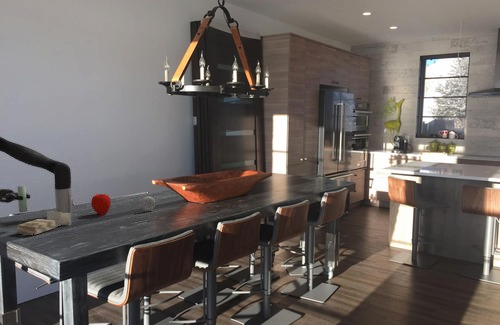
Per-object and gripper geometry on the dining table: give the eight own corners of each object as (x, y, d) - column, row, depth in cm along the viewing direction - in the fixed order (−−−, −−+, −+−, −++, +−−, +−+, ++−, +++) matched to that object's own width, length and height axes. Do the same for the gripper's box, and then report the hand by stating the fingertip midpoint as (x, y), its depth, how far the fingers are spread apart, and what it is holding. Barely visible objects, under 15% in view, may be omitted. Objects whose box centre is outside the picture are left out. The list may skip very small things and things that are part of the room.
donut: (142, 213, 261) (141, 197, 260) (139, 212, 264) (139, 197, 263) (156, 210, 268) (155, 195, 267) (153, 209, 270) (153, 195, 269)
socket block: (38, 225, 229) (38, 219, 228) (55, 227, 225) (55, 220, 224) (17, 232, 215) (16, 225, 215) (35, 234, 212) (34, 227, 211)
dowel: (23, 210, 227) (21, 185, 225) (29, 210, 225) (27, 186, 224) (17, 211, 223) (15, 186, 221) (22, 212, 222) (21, 187, 220)
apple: (87, 215, 256) (86, 194, 254) (102, 211, 266) (101, 191, 265) (100, 217, 250) (99, 196, 249) (115, 213, 261) (114, 193, 259)
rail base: (49, 222, 238) (48, 211, 238) (71, 224, 233) (70, 212, 233) (13, 234, 215) (12, 221, 214) (36, 236, 210) (35, 223, 209)
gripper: (-10, 191, 221) (14, 193, 215) (13, 186, 234) (36, 188, 229) (-9, 204, 222) (15, 206, 216) (14, 199, 235) (37, 201, 229)
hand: (26, 197), depth 222 cm, fingers closed on dowel, 4 cm apart
